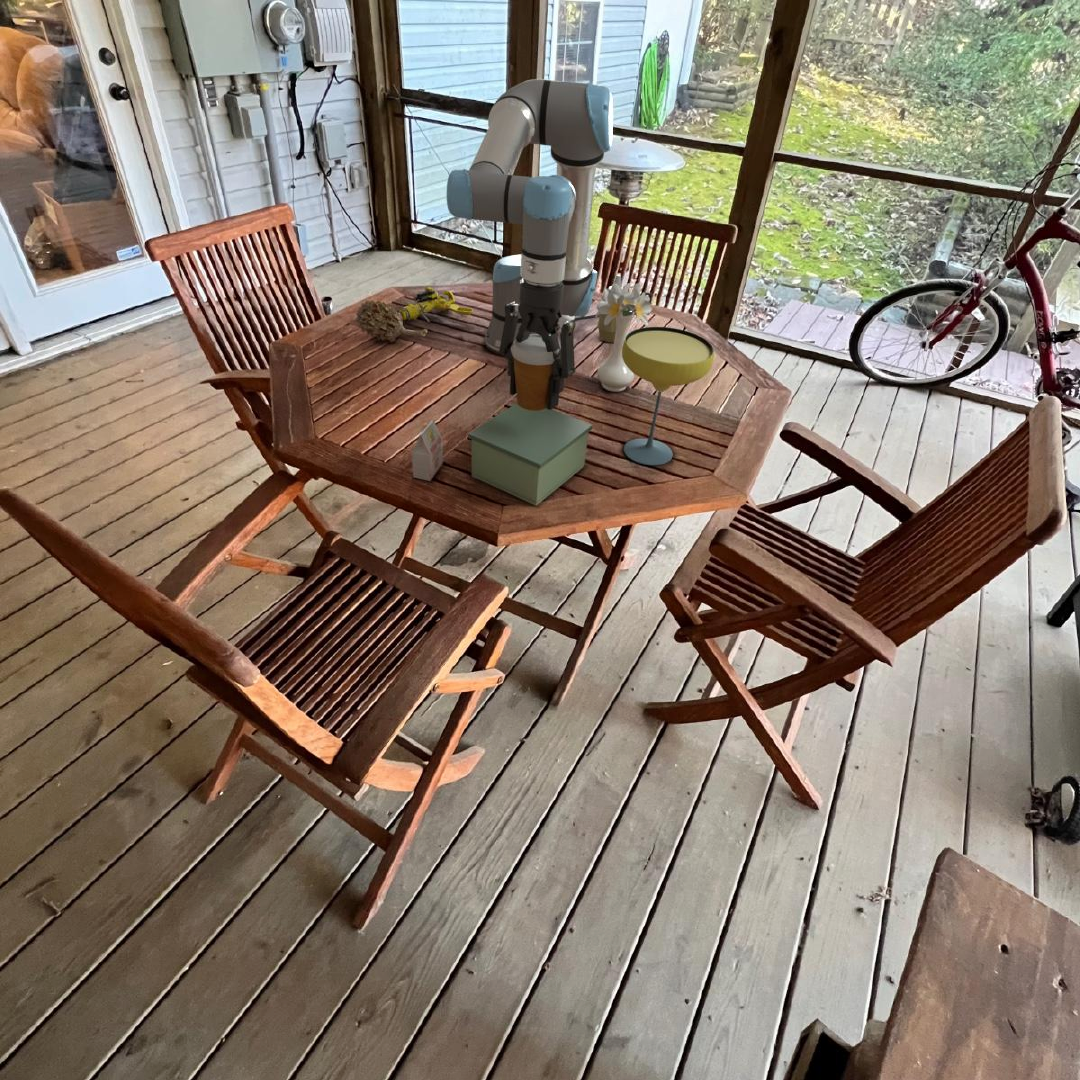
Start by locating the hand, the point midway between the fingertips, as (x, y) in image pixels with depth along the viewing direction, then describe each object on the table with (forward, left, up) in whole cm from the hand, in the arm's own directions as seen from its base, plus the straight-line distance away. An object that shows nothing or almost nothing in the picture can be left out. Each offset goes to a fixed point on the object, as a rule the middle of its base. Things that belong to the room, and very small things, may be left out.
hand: (533, 399), depth 132 cm
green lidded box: (0, 0, -17) cm, 17 cm away
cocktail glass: (-23, +16, -17) cm, 33 cm away
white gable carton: (+13, -16, -17) cm, 27 cm away
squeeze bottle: (-71, -21, -17) cm, 76 cm away
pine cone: (-28, -64, -17) cm, 72 cm away
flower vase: (-46, -6, -17) cm, 49 cm away
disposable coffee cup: (0, 0, -1) cm, 1 cm away
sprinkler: (-49, -69, -17) cm, 86 cm away
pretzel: (-75, -40, -17) cm, 87 cm away
